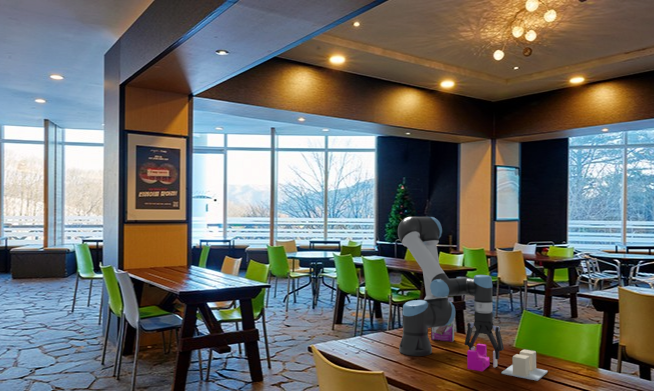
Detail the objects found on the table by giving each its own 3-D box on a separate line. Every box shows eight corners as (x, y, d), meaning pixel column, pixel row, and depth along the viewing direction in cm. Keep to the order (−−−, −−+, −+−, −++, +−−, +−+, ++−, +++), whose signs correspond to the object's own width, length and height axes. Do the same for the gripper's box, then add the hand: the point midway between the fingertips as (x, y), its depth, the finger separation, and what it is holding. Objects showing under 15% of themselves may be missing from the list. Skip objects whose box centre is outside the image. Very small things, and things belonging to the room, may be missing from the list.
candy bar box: (430, 340, 256) (430, 308, 256) (433, 337, 260) (432, 306, 261) (452, 342, 251) (452, 309, 252) (454, 340, 256) (454, 308, 256)
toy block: (482, 371, 204) (482, 353, 204) (467, 369, 207) (467, 351, 207) (492, 362, 216) (492, 345, 217) (478, 360, 220) (477, 343, 220)
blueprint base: (501, 373, 201) (501, 354, 201) (513, 365, 212) (512, 347, 212) (537, 380, 192) (537, 360, 192) (547, 372, 203) (547, 353, 203)
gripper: (455, 309, 217) (456, 361, 216) (505, 315, 204) (506, 371, 203) (463, 307, 223) (463, 358, 222) (511, 313, 210) (512, 367, 208)
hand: (484, 364), depth 212 cm, fingers open, 9 cm apart
